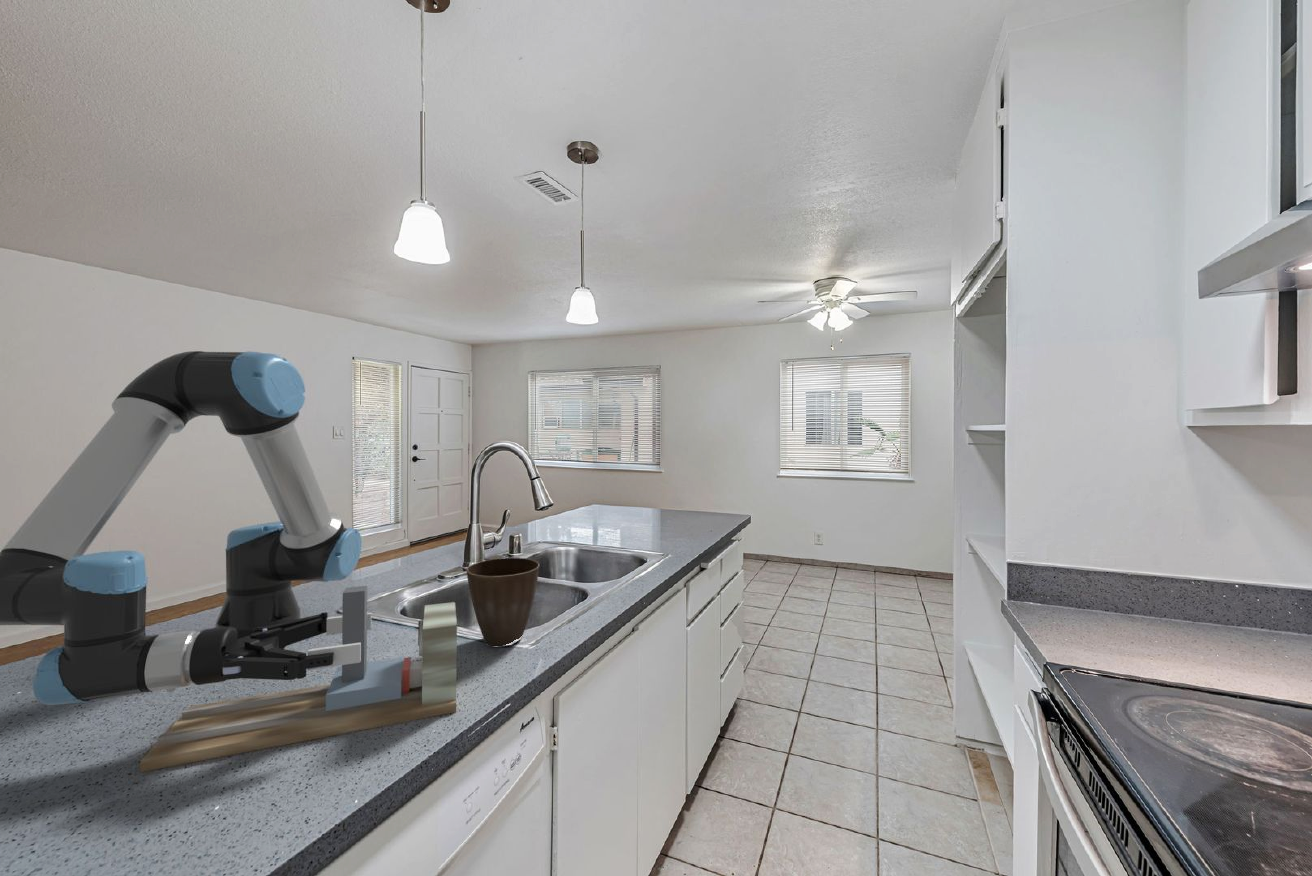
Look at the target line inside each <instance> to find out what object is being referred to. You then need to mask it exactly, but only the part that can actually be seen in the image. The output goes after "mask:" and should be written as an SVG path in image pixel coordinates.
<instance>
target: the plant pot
mask: <svg viewBox="0 0 1312 876" xmlns="http://www.w3.org/2000/svg"><path fill="white" fill-rule="evenodd" d="M539 571H540V563H539V562H538V561H537V560H533V559H529V558H524V557H523V558H521V557H505V558H503V557H502V558H493V559H487V560H481V561H478V562H476V563H473V564H471V565H469V566H468V567H467V568H466V577H467V583H468V590H469V595H470V598H471V604H472V607H473V611H474V614H475V618H476V621H477V624H478V626H479V630H480V633H481V634H482V637H483V639H484V642H485V644H486V645H487V644H488V645H487V646H489V645H490V646H489V647H492V646H503V645H506V644H509V643H511V642H513V641H514V640H516V639H519V638H520V637H521V636H522V635H524V633H525V630H526V628H527V627H526V626H527V624H528V621H529V618H530V616H531V611H532V607H533V604H534V600H535V595H536V591H537V585H538V579H539V578H538V577H539V573H540V572H539ZM522 637H523V636H522Z"/></svg>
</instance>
